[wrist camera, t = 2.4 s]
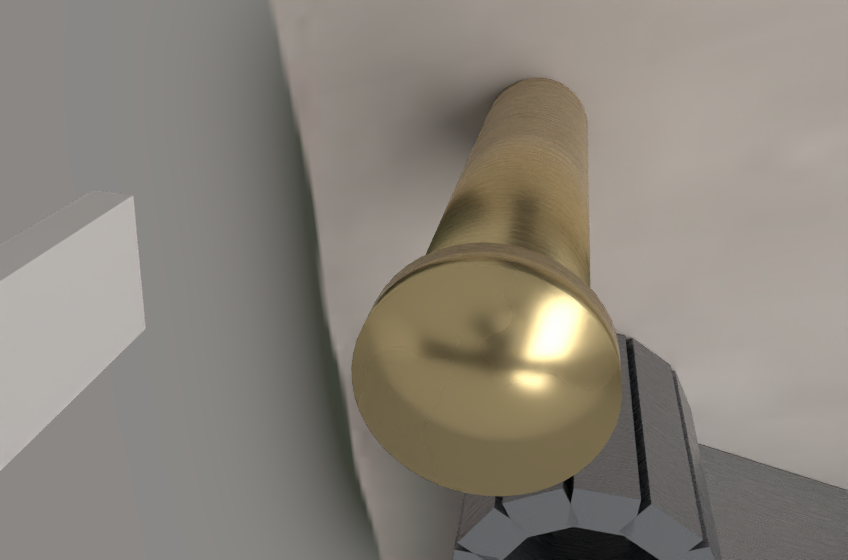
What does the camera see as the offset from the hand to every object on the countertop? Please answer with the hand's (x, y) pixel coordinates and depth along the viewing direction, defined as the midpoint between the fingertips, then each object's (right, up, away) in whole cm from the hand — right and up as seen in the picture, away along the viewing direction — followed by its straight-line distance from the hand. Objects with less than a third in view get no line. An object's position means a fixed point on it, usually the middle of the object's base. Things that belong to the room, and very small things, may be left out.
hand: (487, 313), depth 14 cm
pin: (+2, +5, +10) cm, 11 cm away
